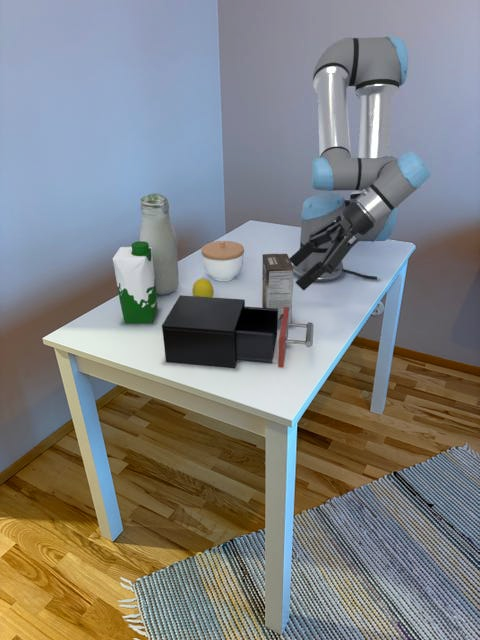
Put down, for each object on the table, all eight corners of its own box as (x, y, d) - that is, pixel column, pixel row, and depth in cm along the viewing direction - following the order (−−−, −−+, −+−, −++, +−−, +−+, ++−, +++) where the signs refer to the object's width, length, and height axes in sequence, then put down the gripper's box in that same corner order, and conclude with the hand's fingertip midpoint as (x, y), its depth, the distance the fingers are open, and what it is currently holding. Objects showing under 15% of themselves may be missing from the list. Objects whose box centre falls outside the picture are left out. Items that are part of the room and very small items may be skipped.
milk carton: (155, 325, 117) (145, 251, 107) (119, 325, 117) (107, 251, 107) (161, 308, 124) (153, 237, 114) (128, 308, 125) (116, 237, 115)
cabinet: (245, 334, 113) (244, 299, 108) (235, 368, 101) (234, 331, 96) (183, 329, 115) (179, 295, 110) (165, 362, 103) (161, 325, 98)
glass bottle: (144, 301, 128) (131, 200, 114) (147, 285, 137) (135, 189, 123) (180, 299, 129) (171, 199, 115) (181, 283, 138) (173, 188, 123)
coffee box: (261, 310, 123) (261, 253, 115) (285, 309, 123) (287, 252, 115) (265, 328, 115) (266, 268, 107) (291, 326, 115) (294, 267, 107)
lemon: (211, 310, 123) (209, 283, 119) (191, 308, 124) (189, 281, 120) (216, 300, 128) (215, 274, 124) (196, 299, 129) (195, 272, 125)
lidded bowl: (214, 265, 149) (213, 232, 143) (250, 271, 144) (250, 238, 138) (195, 280, 139) (192, 246, 133) (233, 288, 134) (232, 252, 129)
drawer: (312, 337, 109) (314, 308, 105) (310, 370, 98) (313, 339, 94) (228, 331, 112) (227, 302, 108) (217, 362, 101) (215, 331, 97)
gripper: (342, 186, 115) (280, 245, 122) (369, 218, 93) (291, 287, 100) (361, 207, 117) (299, 263, 125) (391, 242, 96) (314, 308, 103)
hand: (295, 274), depth 113 cm, fingers open, 13 cm apart
